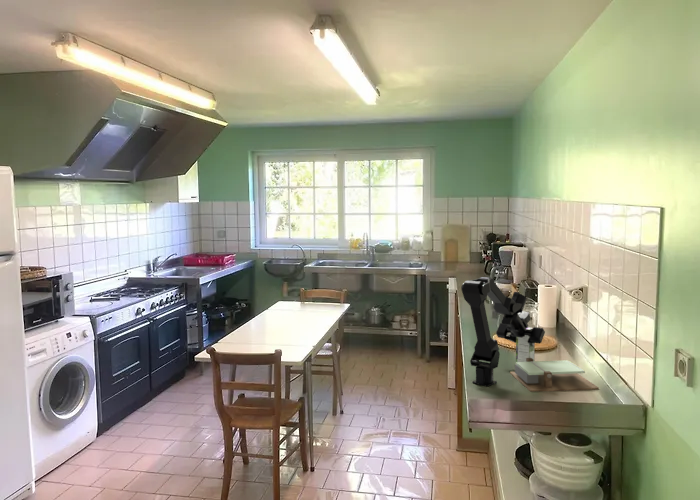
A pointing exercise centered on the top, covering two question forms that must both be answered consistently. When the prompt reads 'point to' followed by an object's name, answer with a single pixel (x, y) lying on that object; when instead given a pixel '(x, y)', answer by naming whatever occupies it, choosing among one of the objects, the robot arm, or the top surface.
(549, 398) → the top surface
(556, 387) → the trapdoor frame
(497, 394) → the top surface
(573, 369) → the trapdoor
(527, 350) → the syrup box
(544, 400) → the top surface
